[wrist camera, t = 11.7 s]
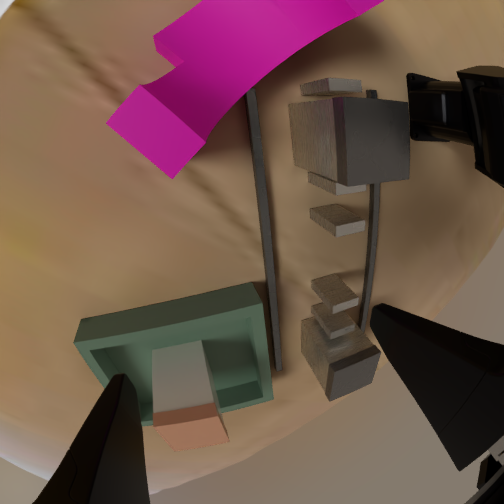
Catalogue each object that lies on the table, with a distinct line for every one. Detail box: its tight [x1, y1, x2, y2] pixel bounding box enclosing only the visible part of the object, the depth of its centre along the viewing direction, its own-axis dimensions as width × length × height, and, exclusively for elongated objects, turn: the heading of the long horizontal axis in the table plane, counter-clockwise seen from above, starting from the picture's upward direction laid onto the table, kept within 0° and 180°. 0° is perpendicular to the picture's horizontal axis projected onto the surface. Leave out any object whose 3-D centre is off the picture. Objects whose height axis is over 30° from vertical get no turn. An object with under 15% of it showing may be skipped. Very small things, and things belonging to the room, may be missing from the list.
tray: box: [73, 282, 274, 426], centre depth 23 cm, size 15×13×3 cm
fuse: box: [152, 340, 230, 451], centre depth 20 cm, size 5×5×8 cm
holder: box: [244, 78, 410, 402], centre depth 20 cm, size 11×26×7 cm, turn 7°
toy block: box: [106, 0, 384, 179], centre depth 12 cm, size 15×6×8 cm, turn 134°
